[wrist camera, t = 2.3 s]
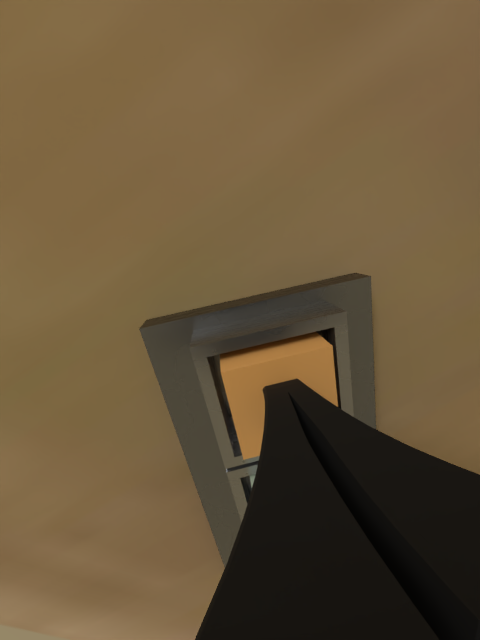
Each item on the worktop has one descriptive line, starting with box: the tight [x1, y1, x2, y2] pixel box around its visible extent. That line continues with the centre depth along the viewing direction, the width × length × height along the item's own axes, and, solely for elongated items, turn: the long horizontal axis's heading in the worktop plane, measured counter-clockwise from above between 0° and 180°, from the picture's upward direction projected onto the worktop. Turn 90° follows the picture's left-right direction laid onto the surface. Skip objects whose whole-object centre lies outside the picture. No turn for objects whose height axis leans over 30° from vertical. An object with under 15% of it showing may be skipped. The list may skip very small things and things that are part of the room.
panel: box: [140, 273, 376, 567], centre depth 13 cm, size 19×10×3 cm, turn 12°
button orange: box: [219, 332, 338, 460], centre depth 10 cm, size 4×4×2 cm
